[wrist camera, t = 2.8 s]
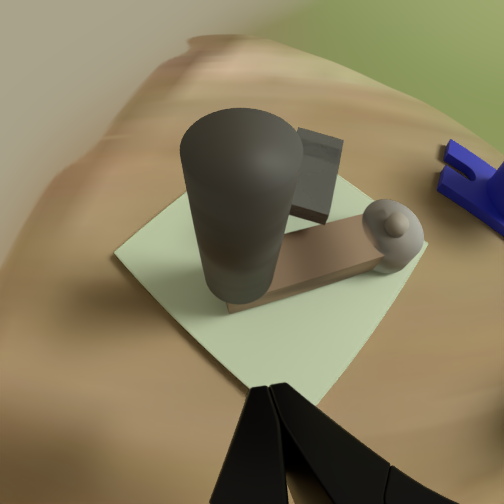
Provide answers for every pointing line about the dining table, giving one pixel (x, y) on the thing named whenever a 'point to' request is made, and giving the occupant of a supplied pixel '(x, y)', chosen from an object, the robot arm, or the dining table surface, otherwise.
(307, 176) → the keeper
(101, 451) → the dining table surface
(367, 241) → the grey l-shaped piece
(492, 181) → the mount
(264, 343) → the plate
